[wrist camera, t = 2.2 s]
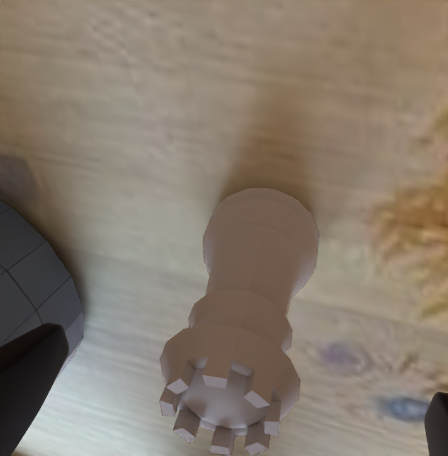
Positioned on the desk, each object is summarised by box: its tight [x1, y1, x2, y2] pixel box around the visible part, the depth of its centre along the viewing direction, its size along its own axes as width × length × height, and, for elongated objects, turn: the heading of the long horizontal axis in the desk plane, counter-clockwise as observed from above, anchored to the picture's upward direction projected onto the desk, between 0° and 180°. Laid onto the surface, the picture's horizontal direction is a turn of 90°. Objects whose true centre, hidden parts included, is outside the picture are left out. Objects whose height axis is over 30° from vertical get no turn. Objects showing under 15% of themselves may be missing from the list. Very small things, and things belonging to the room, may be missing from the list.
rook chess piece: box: [160, 188, 319, 456], centre depth 10 cm, size 4×4×8 cm
